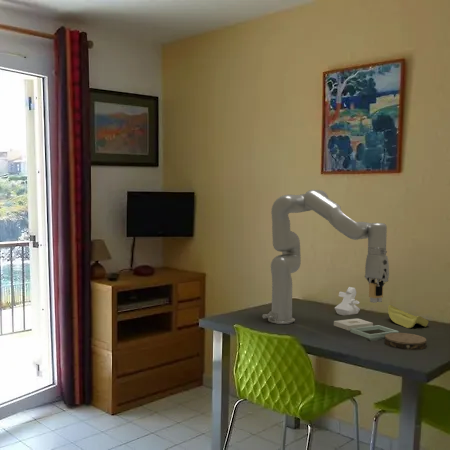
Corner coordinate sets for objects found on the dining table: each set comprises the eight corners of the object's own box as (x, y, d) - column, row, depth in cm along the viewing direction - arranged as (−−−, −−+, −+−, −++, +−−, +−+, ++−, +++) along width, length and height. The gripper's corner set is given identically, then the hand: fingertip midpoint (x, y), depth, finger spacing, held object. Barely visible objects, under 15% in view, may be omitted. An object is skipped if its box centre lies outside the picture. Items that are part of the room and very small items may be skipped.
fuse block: (348, 332, 231) (348, 325, 231) (333, 327, 240) (333, 321, 240) (372, 329, 237) (372, 322, 237) (357, 324, 246) (357, 318, 246)
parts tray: (369, 341, 218) (370, 335, 218) (350, 334, 228) (350, 328, 228) (398, 337, 225) (398, 331, 225) (378, 330, 236) (378, 325, 236)
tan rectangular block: (373, 302, 223) (374, 283, 223) (368, 301, 226) (369, 282, 226) (382, 302, 226) (383, 282, 225) (377, 300, 228) (378, 281, 228)
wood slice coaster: (381, 339, 222) (381, 332, 222) (420, 340, 221) (420, 333, 221) (389, 349, 207) (389, 342, 207) (431, 351, 205) (431, 343, 205)
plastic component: (431, 322, 244) (417, 314, 240) (424, 336, 244) (410, 329, 239) (400, 310, 262) (387, 303, 258) (394, 324, 261) (380, 316, 257)
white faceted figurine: (352, 318, 260) (353, 290, 259) (331, 313, 271) (331, 286, 270) (363, 316, 265) (364, 289, 264) (342, 311, 276) (343, 285, 275)
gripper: (397, 253, 219) (396, 297, 220) (370, 250, 234) (369, 291, 235) (384, 254, 216) (383, 298, 217) (357, 250, 230) (356, 292, 231)
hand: (375, 294), depth 226 cm, fingers closed on tan rectangular block, 3 cm apart
